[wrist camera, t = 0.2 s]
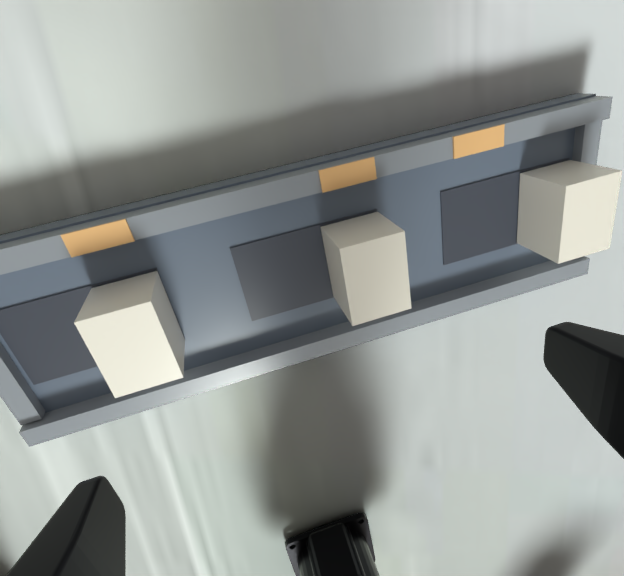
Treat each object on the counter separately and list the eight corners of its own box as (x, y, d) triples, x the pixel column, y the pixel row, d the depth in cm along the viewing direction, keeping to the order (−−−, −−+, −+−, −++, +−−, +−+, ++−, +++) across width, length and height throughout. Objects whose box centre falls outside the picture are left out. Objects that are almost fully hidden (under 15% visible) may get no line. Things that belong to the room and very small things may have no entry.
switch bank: (559, 261, 27) (588, 275, 25) (44, 417, 23) (29, 449, 21) (577, 93, 22) (614, 94, 20) (-68, 251, 18) (-100, 272, 16)
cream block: (184, 339, 22) (183, 377, 19) (125, 357, 21) (114, 398, 18) (157, 270, 20) (150, 301, 17) (91, 288, 19) (74, 322, 17)
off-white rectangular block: (385, 281, 23) (411, 308, 20) (333, 296, 23) (352, 326, 20) (377, 211, 21) (404, 231, 18) (320, 226, 21) (339, 249, 18)
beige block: (563, 229, 24) (609, 248, 22) (516, 242, 24) (558, 263, 21) (570, 159, 23) (622, 170, 20) (520, 173, 22) (566, 186, 19)
